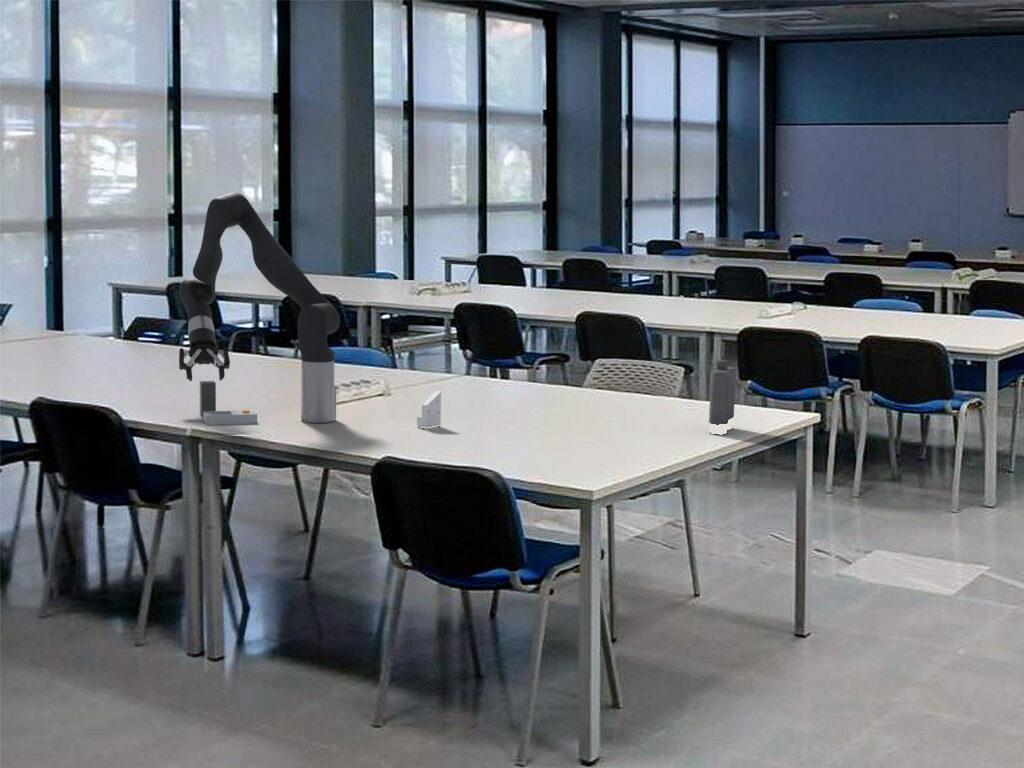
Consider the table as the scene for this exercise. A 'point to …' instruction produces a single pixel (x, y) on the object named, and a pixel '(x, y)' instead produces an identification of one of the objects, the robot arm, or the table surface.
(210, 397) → the plug
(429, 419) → the white angled block
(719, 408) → the flask
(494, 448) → the table surface
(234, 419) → the power strip
